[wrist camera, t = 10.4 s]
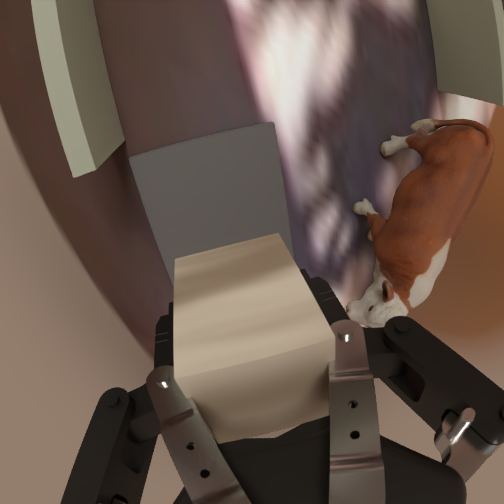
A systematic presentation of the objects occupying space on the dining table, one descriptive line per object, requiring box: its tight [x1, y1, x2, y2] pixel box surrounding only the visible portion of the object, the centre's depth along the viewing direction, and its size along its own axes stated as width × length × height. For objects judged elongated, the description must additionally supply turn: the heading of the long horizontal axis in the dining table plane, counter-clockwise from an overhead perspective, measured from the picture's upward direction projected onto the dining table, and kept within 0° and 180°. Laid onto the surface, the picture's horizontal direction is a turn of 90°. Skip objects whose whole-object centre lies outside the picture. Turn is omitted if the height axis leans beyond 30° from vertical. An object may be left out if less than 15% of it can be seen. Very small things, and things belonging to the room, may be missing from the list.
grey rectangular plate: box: [129, 122, 294, 287], centre depth 19 cm, size 12×8×1 cm, turn 10°
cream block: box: [173, 233, 335, 443], centre depth 12 cm, size 5×5×6 cm
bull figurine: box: [346, 119, 494, 328], centre depth 17 cm, size 4×13×8 cm, turn 152°
